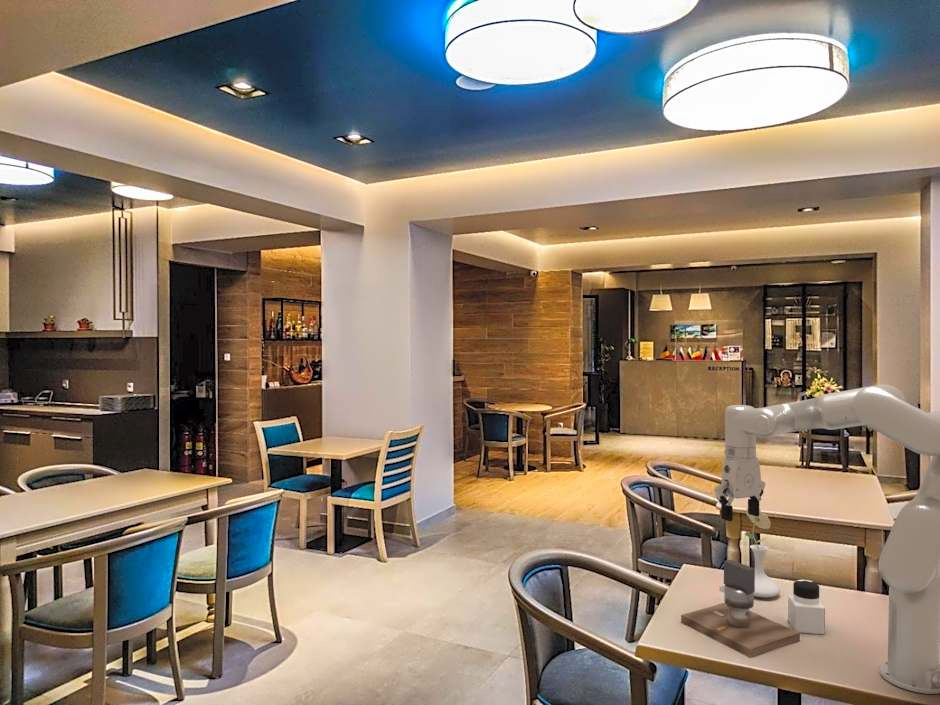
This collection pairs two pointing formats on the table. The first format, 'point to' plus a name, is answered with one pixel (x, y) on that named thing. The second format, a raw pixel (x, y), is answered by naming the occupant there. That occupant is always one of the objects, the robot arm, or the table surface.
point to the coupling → (738, 585)
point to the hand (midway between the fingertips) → (740, 517)
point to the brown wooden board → (740, 629)
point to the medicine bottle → (806, 608)
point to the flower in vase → (761, 559)
